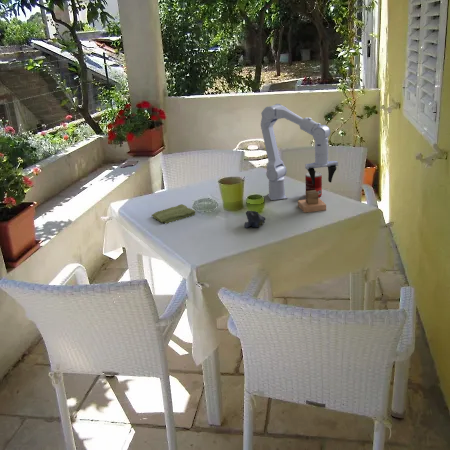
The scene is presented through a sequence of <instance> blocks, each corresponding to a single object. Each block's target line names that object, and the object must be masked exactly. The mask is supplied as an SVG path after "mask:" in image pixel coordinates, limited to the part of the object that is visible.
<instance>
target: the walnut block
mask: <svg viewBox="0 0 450 450" xmlns="http://www.w3.org/2000/svg"><path fill="white" fill-rule="evenodd" d="M305 200H306V203H307V204H308V205H311V204H318V192H317V191H316V190H311V191H306V190H305Z"/></svg>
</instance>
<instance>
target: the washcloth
mask: <svg viewBox="0 0 450 450" xmlns="http://www.w3.org/2000/svg"><path fill="white" fill-rule="evenodd" d="M192 215H193V216H194V215H196V210H194V209H191V208H190V207H188V206H186V205H185V204H178V205H176V206H172V207H169V208H165V209H163V210H159V211H155V212H154V213H153V214H151V217H152V216H153V217H154V219H157V220H156V221H159V222H160V223H164V222H165V223H167V224H170V223H169V222H171V223H173V222H172V221H174V222H176V220H177V221H180V220H184V219H187V218H190V217H193V216H192ZM189 216H190V217H189ZM153 217H152V218H153ZM186 217H187V218H186ZM179 219H180V220H179ZM165 223H164V224H165Z"/></svg>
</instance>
